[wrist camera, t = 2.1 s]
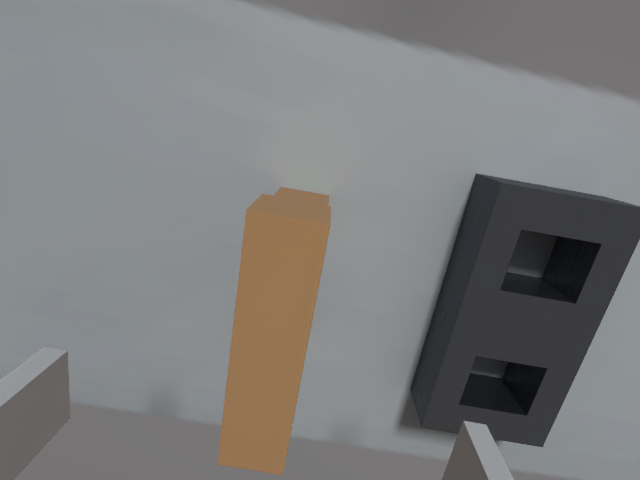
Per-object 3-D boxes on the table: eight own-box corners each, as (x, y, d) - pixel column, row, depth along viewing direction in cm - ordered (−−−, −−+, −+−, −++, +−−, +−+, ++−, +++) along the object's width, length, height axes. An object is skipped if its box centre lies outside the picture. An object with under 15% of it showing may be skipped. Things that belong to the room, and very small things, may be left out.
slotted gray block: (516, 407, 27) (542, 447, 24) (410, 389, 27) (421, 426, 24) (605, 196, 22) (652, 210, 19) (476, 173, 22) (502, 182, 19)
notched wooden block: (300, 347, 26) (282, 475, 17) (259, 339, 26) (217, 464, 17) (331, 181, 23) (330, 224, 13) (283, 172, 22) (246, 209, 13)
